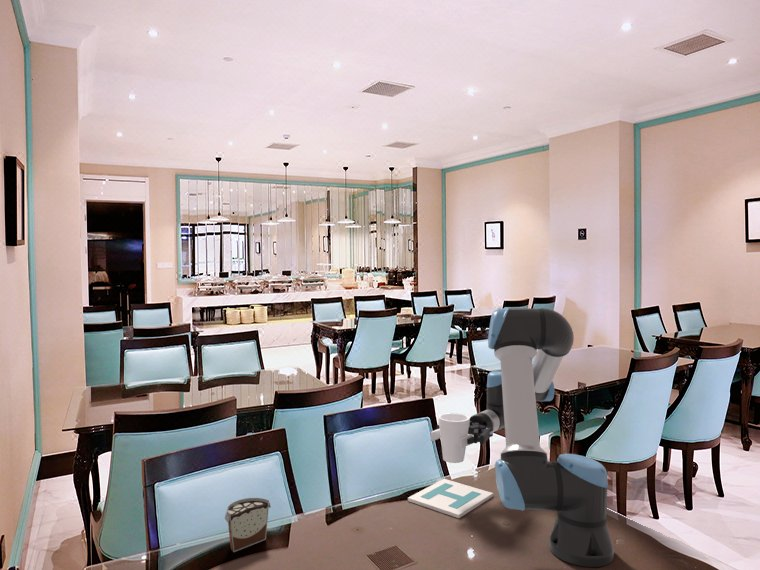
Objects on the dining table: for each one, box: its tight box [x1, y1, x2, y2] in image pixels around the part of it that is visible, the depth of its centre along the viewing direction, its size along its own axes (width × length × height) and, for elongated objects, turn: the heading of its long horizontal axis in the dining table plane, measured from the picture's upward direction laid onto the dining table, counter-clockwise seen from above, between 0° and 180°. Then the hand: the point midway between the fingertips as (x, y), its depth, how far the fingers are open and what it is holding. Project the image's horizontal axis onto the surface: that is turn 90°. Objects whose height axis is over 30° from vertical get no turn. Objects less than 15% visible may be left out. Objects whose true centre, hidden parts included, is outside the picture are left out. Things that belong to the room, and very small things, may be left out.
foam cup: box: [437, 412, 470, 464], centre depth 170 cm, size 10×9×13 cm
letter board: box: [407, 478, 494, 519], centre depth 171 cm, size 18×20×1 cm
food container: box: [224, 497, 272, 553], centre depth 143 cm, size 12×6×10 cm, turn 135°
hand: (445, 440), depth 167 cm, fingers closed on foam cup, 9 cm apart
